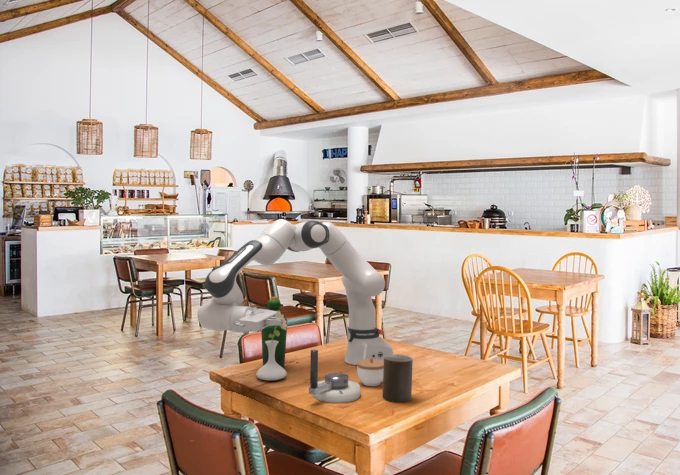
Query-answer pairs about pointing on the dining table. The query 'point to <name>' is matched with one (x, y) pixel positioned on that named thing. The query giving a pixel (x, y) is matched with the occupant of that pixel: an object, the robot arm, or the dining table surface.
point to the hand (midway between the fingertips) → (281, 322)
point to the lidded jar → (370, 371)
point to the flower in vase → (273, 357)
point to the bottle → (281, 346)
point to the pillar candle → (397, 378)
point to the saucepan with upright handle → (330, 379)
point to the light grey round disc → (340, 393)
